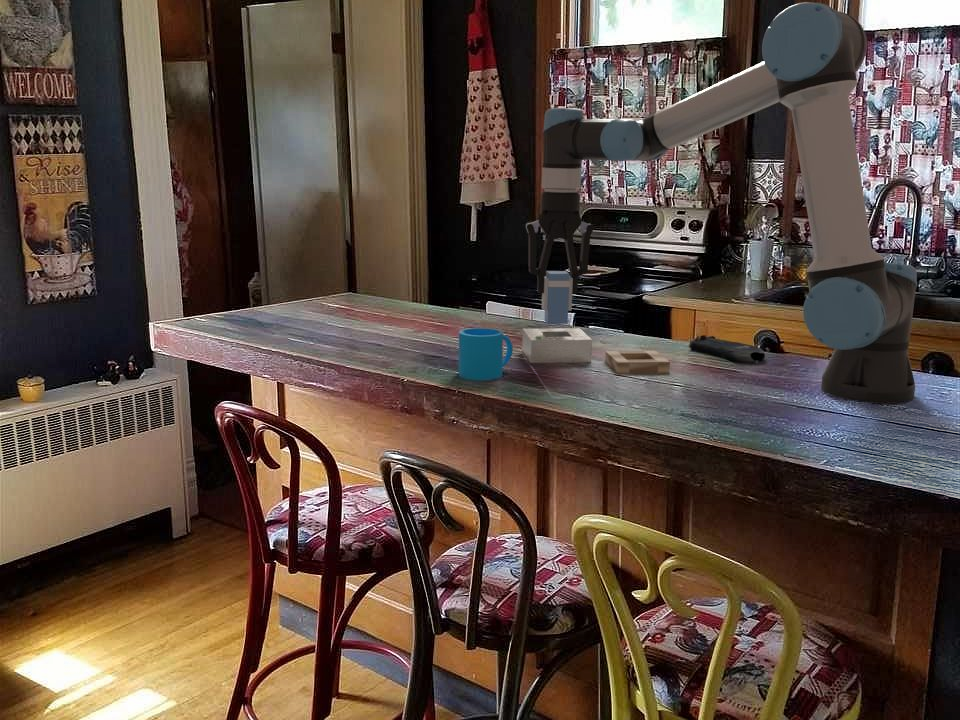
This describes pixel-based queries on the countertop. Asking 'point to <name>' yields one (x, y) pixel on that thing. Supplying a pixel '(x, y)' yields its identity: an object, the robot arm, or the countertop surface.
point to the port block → (556, 345)
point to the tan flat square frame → (637, 362)
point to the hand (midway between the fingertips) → (556, 309)
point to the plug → (557, 297)
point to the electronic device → (727, 349)
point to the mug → (482, 353)
